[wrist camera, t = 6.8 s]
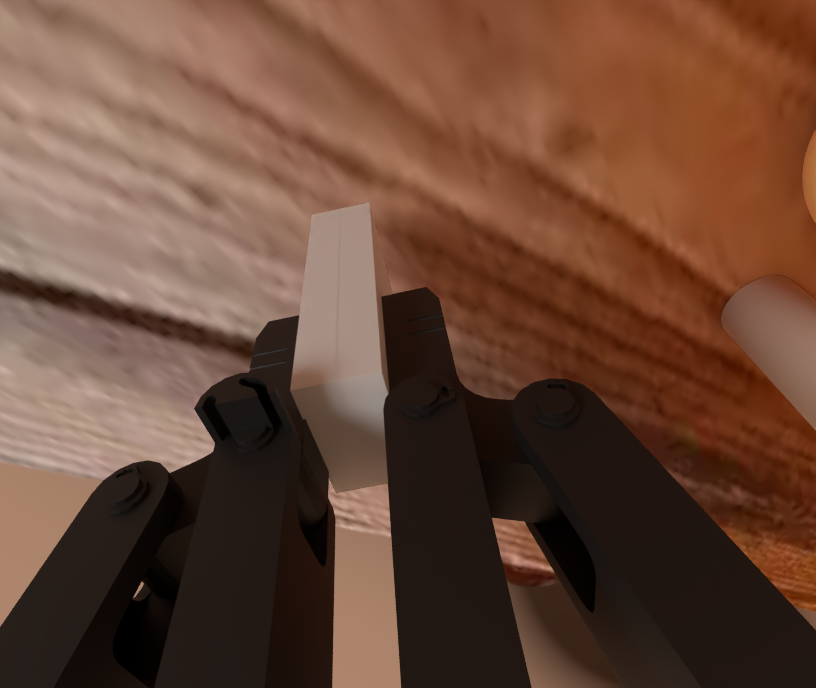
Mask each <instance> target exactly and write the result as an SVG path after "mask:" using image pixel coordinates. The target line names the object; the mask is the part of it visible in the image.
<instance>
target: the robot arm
mask: <svg viewBox="0 0 816 688" xmlns="http://www.w3.org/2000/svg"><path fill="white" fill-rule="evenodd" d="M253 356H254V357H252V361H251V365H250V369H251V371H249V373H240V374H237V375H234V376H231V377H228V378H225V379H224V380H222V381H220V382H218V383H217V384H215V385H213V386H212V387H211V388H210V389H209V390H208V391H207V392H206V393H204V394H203V395H202V396H201V397H200V399H199V401H198V403H197V405H196V406H195V408H194V409H195V411H196V413H197V414H198V416H199V418H200V419H201V421H202V422H203V424H204V426H205V427H206V429H207V431H208V432H209V434H210V435H211V437H212V439H213V440H214V442H215V447H214V451H213V452H212V453H211V454H209V455H207V456H205V457H204V458H202V459H200V460H198V461H196V462H193V463H191V464H189V465H187V466H185V467H182V468H180V469H178V470H176V471H174V472H171V473H169V472H168V471H167V470H166V469H165V468H164V467H163V466H162V465H161V464H160V463H158V462H153V461H142V462H136V463H132V464H130V465H128V466H126V467H123V468H121V469H119V470H117V471H116V472H114V473H113V474H112V475H110V476H109V477H108V478H106V479H105V480H103V482H102V483H101V484H100V485H99V486H98V487H97V488H96V490H95V491H94V492H93V493H92V494H91V496H90V497H89V499H88V500H87V502H86V503H85V504H84V506H83V507H82V509H81V510H80V512H79V513H78V515H77V516H76V517H75V519H74V520H73V522H72V523H71V525H70V526H69V528H68V529H67V531H66V532H65V534H64V535H63V536H62V538H61V540H60V541H59V542H58V544H57V545H56V547H55V548H54V550H53V551H52V553H51V554H50V555H49V557H48V558H47V560H46V561H45V563H44V564H43V566H42V567H41V568H40V570H39V571H38V573H37V574H36V576H35V577H34V579H33V580H32V582H31V583H30V585H29V586H28V588H27V589H26V590H25V592H24V593H23V595H22V596H21V598H20V599H19V600H18V602H17V603H16V605H15V606H14V608H13V609H12V611H11V612H10V614H9V615H8V616H7V618H6V619H5V621H4V623H3V624H2V625H1V627H0V688H332V667H333V665H332V663H333V616H334V565H335V561H334V560H335V515H334V510H333V507H332V505H331V503H330V501H329V499H328V483H329V479H330V481H331V483H332V485H333V488H334V490H335V492H336V493H339V492H344V491H349V490H355V489H360V488H365V487H370V486H376V485H381V484H386V483H388V491H389V506H390V521H391V537H392V551H393V567H394V583H395V598H396V611H397V628H398V644H399V659H400V673H401V688H531V684H530V679H529V675H528V671H527V667H526V662H525V658H524V654H523V649H522V645H521V641H520V637H519V633H518V628H517V624H516V620H515V616H514V611H513V607H512V602H511V598H510V594H509V590H508V585H507V581H506V577H505V572H504V568H503V564H502V560H501V555H500V551H499V547H498V543H497V538H496V534H495V530H494V525H493V521H492V518H500V519H508V520H517V521H525V523H526V525H527V527H528V528H529V530H530V532H531V533H532V535H533V537H534V539H535V540H536V542H537V544H538V545H539V547H540V549H541V550H542V552H543V554H544V555H545V557H546V559H547V560H548V562H549V564H550V565H551V567H552V569H553V570H554V572H555V574H556V575H557V577H558V579H559V580H560V582H561V584H562V585H563V587H564V589H565V590H566V592H567V594H568V595H569V597H570V598H571V601H572V602H573V604H574V605H575V607H576V609H577V611H578V612H579V614H580V616H581V617H582V619H583V621H584V622H585V624H586V626H587V627H588V629H589V631H590V632H591V634H592V636H593V637H594V639H595V641H596V642H597V644H598V646H599V647H600V649H601V651H602V652H603V654H604V656H605V657H606V659H607V661H608V663H609V664H610V666H611V668H612V669H613V671H614V672H615V674H616V676H617V678H618V679H619V681H620V683H621V684H622V686H623V688H816V630H815V629H814V628H813V627H812V626H811V625H810V624H809V622H808V621H807V620H806V619H805V618H804V617H803V616H802V615H801V614H800V613H799V612H798V611H797V610H796V609H795V607H794V606H793V605H792V604H791V603H790V602H789V601H788V600H787V599H786V598H785V597H784V596H783V595H782V594H781V592H780V591H779V590H778V589H777V588H776V587H775V586H774V585H773V584H772V583H771V582H770V581H769V580H768V579H767V577H766V576H765V575H764V574H763V573H762V572H761V571H760V570H759V569H758V568H757V567H756V566H755V565H754V564H753V562H752V561H751V560H750V559H749V558H748V557H747V556H746V555H745V554H744V553H743V552H742V551H741V550H740V548H739V547H738V546H737V545H736V544H735V543H734V542H733V541H732V540H731V539H730V538H729V537H728V536H727V535H726V533H725V532H724V531H723V530H722V529H721V528H720V527H719V526H718V525H717V524H716V523H715V522H714V521H713V520H712V518H711V517H710V516H709V515H708V514H707V513H706V512H705V511H704V510H703V509H702V508H701V507H700V506H699V505H698V503H697V502H696V501H695V500H694V499H693V498H692V497H691V496H690V495H689V494H688V493H687V492H686V491H685V490H684V488H683V487H682V486H681V485H680V484H679V483H678V482H677V481H676V480H675V479H674V478H673V477H672V476H671V475H670V473H669V472H668V471H667V470H666V469H665V468H664V467H663V466H662V465H661V464H660V463H659V462H658V461H657V460H656V458H655V457H654V456H653V455H652V454H651V453H650V452H649V451H648V450H647V449H646V448H645V447H644V446H643V445H642V443H641V442H640V441H639V440H638V439H637V438H636V437H635V436H634V435H633V434H632V433H631V432H630V431H629V430H628V428H627V427H626V426H625V425H624V424H623V423H622V422H621V421H620V420H619V419H618V418H617V417H616V416H615V414H614V413H613V412H612V411H611V410H610V409H609V408H608V407H607V406H606V405H605V404H604V403H603V402H602V401H601V399H600V398H599V397H598V396H597V395H596V394H595V393H594V392H592V391H591V390H590V389H588V388H587V387H585V386H584V385H583V384H580V383H577V382H574V381H571V380H567V379H546V380H542V381H537V382H534V383H532V384H530V385H529V386H527V387H525V388H523V389H522V390H521V391H520V392H519V394H518V395H517V396H516V397H515V399H514V400H502V399H492V398H485V397H482V396H480V395H477V394H474V393H473V392H471V391H469V390H468V389H466V388H465V387H464V386H463V384H462V383H461V382H460V381H459V378H458V376H457V373H456V369H455V365H454V360H453V356H452V352H451V348H450V343H449V339H448V335H447V331H446V327H445V322H444V318H443V314H442V309H441V305H440V301H439V298H438V297H437V296H436V295H435V294H433V293H432V292H431V291H430V290H429V289H428V288H427V287H425V288H420V289H415V290H410V291H405V292H401V293H396V294H392V290H391V286H390V282H389V278H388V274H387V270H386V266H385V262H384V258H383V254H382V250H381V246H380V242H379V238H378V234H377V230H376V226H375V222H374V218H373V214H372V210H371V206H370V202H369V203H364V204H360V205H355V206H351V207H346V208H341V209H337V210H332V211H328V212H323V213H318V214H314V215H312V219H311V227H310V235H309V243H308V251H307V259H306V267H305V275H304V283H303V291H302V299H301V307H300V315H298V316H293V317H289V318H284V319H279V320H274V321H270V322H268V323H267V325H266V326H265V327H264V329H263V330H262V331H261V333H260V334H259V335H258V337H257V338H256V343H255V347H254V352H253ZM141 581H142V582H143V583H144V585H143V587H142V589H141V590H140V591H139V593H138V594H137V595H136V597H134V598H133V596H134V595H135V593H136V591H137V589H138V587H139V585H140V583H141Z"/></svg>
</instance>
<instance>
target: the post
mask: <svg viewBox="0 0 816 688" xmlns="http://www.w3.org/2000/svg"><path fill="white" fill-rule="evenodd" d="M721 324H722V327H723V329H724V330H725V331H726V333H727V334H728V335H729V336H730V337H731V338H732V339H733V340H734V341H735V342H736V344H737V345H738V346H739V347H740V348H741V349H742V350H743V351H744V352H745V353H746V355H747V356H748V357H749V358H750V359H751V360H752V361H753V362H754V363H755V364H756V366H757V367H758V368H759V369H760V370H761V371H762V372H763V373H764V374H765V375H766V377H767V378H768V379H769V380H770V381H771V382H772V383H773V384H774V385H775V386H776V388H777V389H778V390H779V391H780V392H781V393H782V394H783V395H784V396H785V397H786V399H787V400H788V401H789V402H790V403H791V404H792V405H793V406H794V407H795V408H796V410H797V411H798V412H799V413H800V414H801V415H802V416H803V417H804V418H805V419H806V421H807V422H808V423H809V424H810V425H811V426H812V427H813V428H814V429H815V430H816V300H815V299H814V298H812V297H811V296H810V295H809V294H807V293H806V292H805V291H804V290H803V289H801V288H800V287H799V286H798V285H797V284H795V283H794V282H793V281H792V280H790V279H789V278H786V277H783V276H767V277H763V278H760V279H757V280H755V281H752V282H750V283H749V284H747V285H745V286H744V287H742V288H741V289H740V290H738V291H737V292H736V293H735V294H734V295H733V296H732V297H731V298H730V299H729V301H728V302H727V303H726V305H725V307H724V309H723V311H722V315H721Z"/></svg>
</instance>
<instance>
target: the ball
mask: <svg viewBox="0 0 816 688" xmlns="http://www.w3.org/2000/svg"><path fill="white" fill-rule="evenodd" d="M802 186H803V193H804V198H805V202H806V205H807V208H808V210H809V212H810V214H811V216H812V218H813V220H814V222H815V223H816V129H815V131H814V134H813V136H812V138H811V140H810V142H809V145H808V148H807V151H806V154H805V158H804V163H803V172H802Z"/></svg>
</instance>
